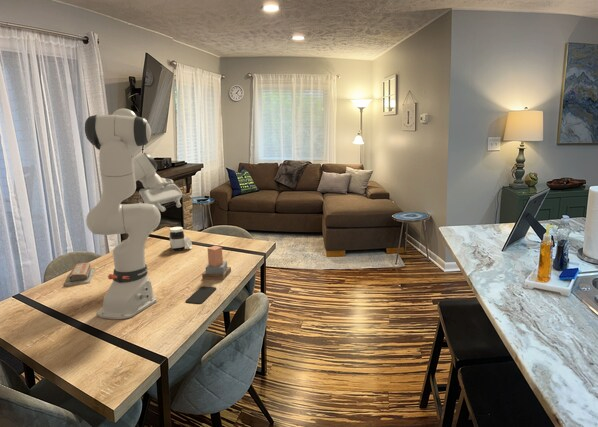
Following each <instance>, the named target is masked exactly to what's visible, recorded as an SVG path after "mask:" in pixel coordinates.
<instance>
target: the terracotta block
mask: <svg viewBox="0 0 598 427" xmlns="http://www.w3.org/2000/svg"><path fill="white" fill-rule="evenodd" d="M223 258H224V257H223V247H222V246H218V245H213V246H210V247H207V260H208V263H209V265H210V266H214V267H217V266H219V265H221V264H223V260H224V259H223ZM208 263H207V264H208Z"/></svg>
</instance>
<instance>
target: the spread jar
mask: <svg viewBox="0 0 598 427" xmlns="http://www.w3.org/2000/svg"><path fill="white" fill-rule="evenodd" d="M183 230H184V227H182V226H174V227H170V228H169V245H170V249H171V250H172V251H177V252H178V251H182V250H184V249H185V248H186V249H187V250H191V249H193V243H192V240H191V238H190V237H188V236H187V237H185V233H184V231H183Z"/></svg>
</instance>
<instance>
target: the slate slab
mask: <svg viewBox="0 0 598 427" xmlns="http://www.w3.org/2000/svg"><path fill="white" fill-rule="evenodd" d="M227 267H228V261H227V260H224V261H223V264H221V265H219V266H217V267H214V266H210V265H209V263H207V265H206V266H205V271H206V274H224V272H225V271H226V269H227Z"/></svg>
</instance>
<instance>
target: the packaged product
mask: <svg viewBox="0 0 598 427" xmlns="http://www.w3.org/2000/svg"><path fill="white" fill-rule="evenodd" d="M95 270H96V268H95V267H91V263H90V262H80V263H75V264H74V267H73V269H71V271H70V272H69V275H68V276H67V279H66V280H65V282H64V286H65V287H70V286H77V285H83V284H84V285H85V284H90V283H91V282H92V277H93V276H94V272H95Z"/></svg>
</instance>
